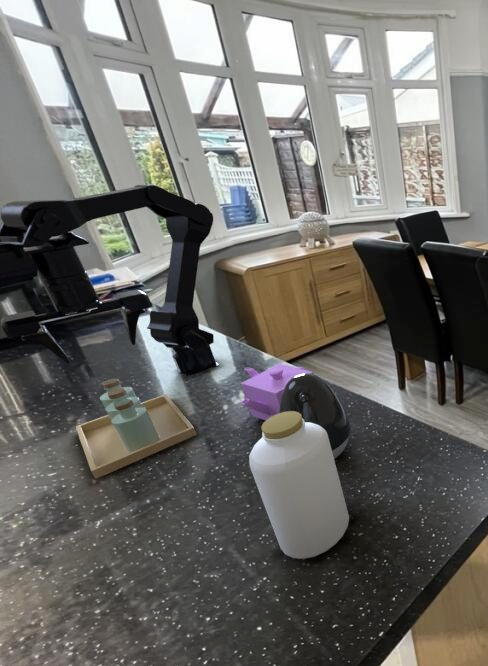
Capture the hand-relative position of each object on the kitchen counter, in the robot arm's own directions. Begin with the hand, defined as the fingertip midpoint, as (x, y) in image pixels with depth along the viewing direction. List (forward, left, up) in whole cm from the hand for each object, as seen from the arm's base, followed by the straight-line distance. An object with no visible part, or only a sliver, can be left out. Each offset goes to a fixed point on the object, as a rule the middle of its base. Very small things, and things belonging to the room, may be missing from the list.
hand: (102, 352), depth 76 cm
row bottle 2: (+1, +15, -12) cm, 19 cm away
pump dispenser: (-17, +47, -12) cm, 51 cm away
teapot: (-18, +31, -12) cm, 38 cm away
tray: (+1, +15, -12) cm, 19 cm away
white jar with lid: (-9, +61, -12) cm, 63 cm away
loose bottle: (+1, +20, -12) cm, 23 cm away
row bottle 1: (+1, +9, -12) cm, 15 cm away
